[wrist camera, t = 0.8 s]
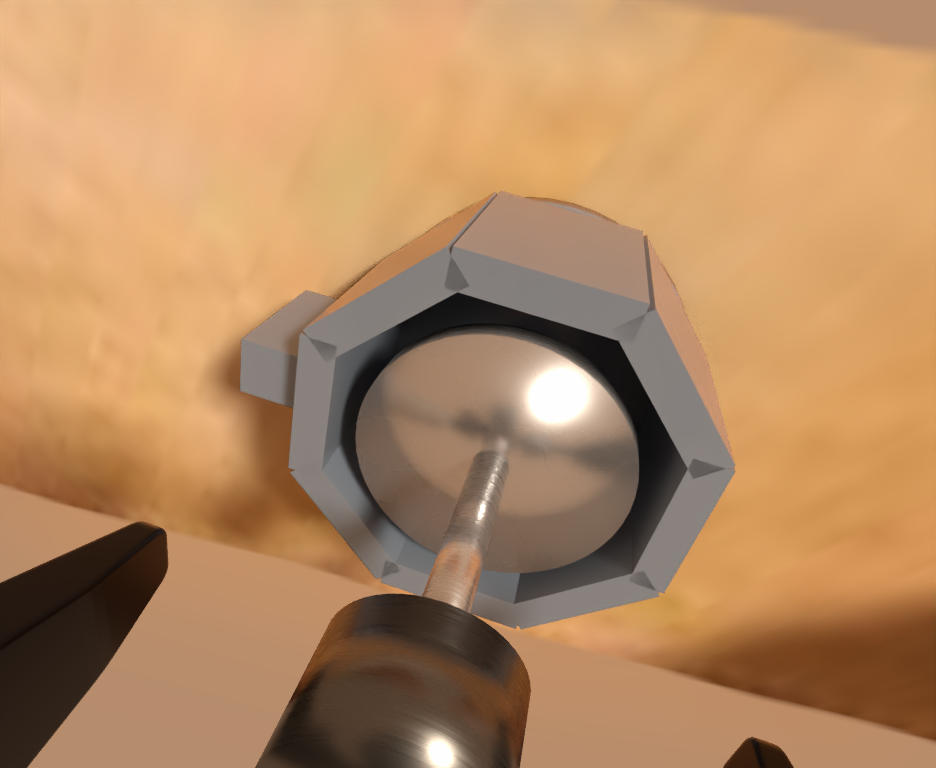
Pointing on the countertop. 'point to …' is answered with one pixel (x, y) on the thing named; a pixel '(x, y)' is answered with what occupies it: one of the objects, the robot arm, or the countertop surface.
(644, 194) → the countertop surface
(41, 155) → the countertop surface
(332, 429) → the press pot
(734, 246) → the countertop surface
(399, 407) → the plunger
